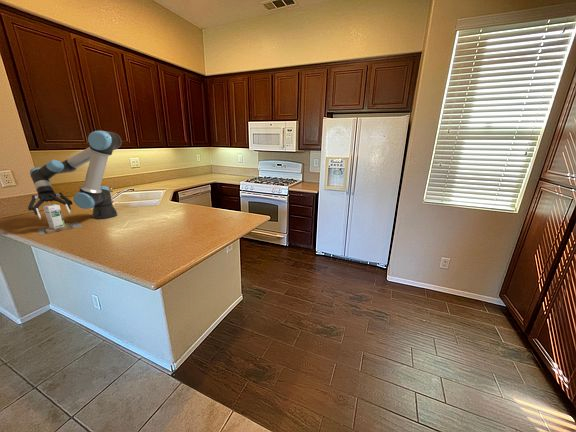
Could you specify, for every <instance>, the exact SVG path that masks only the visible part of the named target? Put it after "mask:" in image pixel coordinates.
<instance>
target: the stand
mask: <svg viewBox="0 0 576 432" xmlns="http://www.w3.org/2000/svg"><path fill="white" fill-rule="evenodd" d="M64 223H65V222H64ZM43 228H44V229H45V231H46V232H47V234H52V233H59V232H63V231H68V230H73V229H74V228H73V227H72V226H71V225H70V223H69V222H66V223H65V227H60V228H56V229H52V228H50V227H49V226H45V227H43Z"/></svg>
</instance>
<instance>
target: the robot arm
mask: <svg viewBox="0 0 576 432" xmlns="http://www.w3.org/2000/svg"><path fill="white" fill-rule="evenodd" d="M87 136H88V137H87V143H89V147H87V148H85V149H84V150H81V151H80V152H78V153H76V154H75V155H72V156H70V157H68V158H67V159H65V160H62V161H59V160H56V159H51V160H50V161H48V162H46V163H45V164H44V165H43V166H41V167H34V168H31V169H30V170H29V175H30V178H31V181H32V183H33V185H34V188H35V190H36V192H37V195H35V194H34V195H31V200H30V202H29V205H27V206H28V207H27V210H28V211H32V212H33V213H34V215H35V216H36V215H37V217H38V219H39V220H42V216H41V214H40V211H39V208H40V206H42V205H43V204H44V203H45V202H46V203H48V202H53V201H54V202H58V203H60V204H62V205H64V206H65V208H66V211H67V214H68V215H69V216H70V215H72V214H71V210H72V208H71V205H73V202H74V204H75V205H76V206H77V207H78V208H80V209H82V210H83V209H84V210H89V209H92V214H91V216H92V219H95V220H105V219H111V218H114V217H117V216H118V211H117V210H116V208H115V207H114V204H113V201H112V197H111V196H112V195H111V190H110V188H109V186H106V185H102V181H103V178H104V174H105V170H106V167H107V162H108V158H109V157H111V156H112V155H113V152H114V151H115V150H117V149H120V147H121V146H122V143H123V141H122V138H121V137H120V135H119V134H118V133H116V132H114V131H105V130H94V131H92V132H90V134H89V135H87ZM87 163H88V166H87V171H86V174H85V178H84V182H83V184H82V185H80V187H79V188H78V189H79V190H78V192H77V193H75V194H74V195H73V201H72V200H70V199H69V198H68V197H67V196H65V195H63V193H62V192H59V193H56V192H55V191H54V189H53V186H52V184H51V181H50V179H51V178H53V177H55V176H56V175H58V174H59V175H60V174H66V173H67V174H68V173H73V172H75V171H76V170H77V169H78V168H80V167H82V166H84V165H85V164H87ZM37 200H38V201H37ZM36 201H37V202H36Z"/></svg>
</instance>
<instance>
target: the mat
mask: <svg viewBox="0 0 576 432" xmlns="http://www.w3.org/2000/svg"><path fill="white" fill-rule="evenodd" d="M69 224H70V225H71V226H72V227H73V229H76V228H82V227H84V226H83V225H82V224H81V223H79V222H78V221H76V222H71V223H69ZM37 232H38V233H39V235H41V236H42V235H46V234H47V232H46V231H45V229H44V227H43V228H38V229H37Z"/></svg>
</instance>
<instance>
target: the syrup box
mask: <svg viewBox="0 0 576 432" xmlns="http://www.w3.org/2000/svg"><path fill="white" fill-rule="evenodd" d="M42 207H43V211H44V214H45V216H46V220H47V224H48V227H50V228H52V229H56V228H60V227H65V220H64V216H63V213H62V208H61V206H60V204H56V203H54V204H49V205H44V206H42Z"/></svg>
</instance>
